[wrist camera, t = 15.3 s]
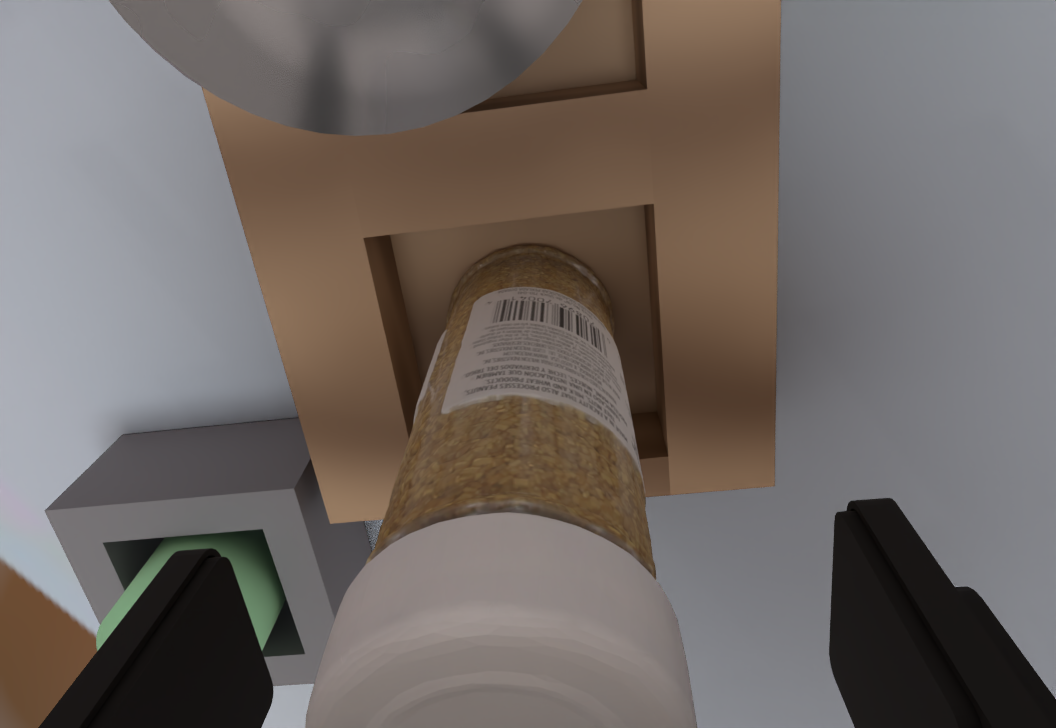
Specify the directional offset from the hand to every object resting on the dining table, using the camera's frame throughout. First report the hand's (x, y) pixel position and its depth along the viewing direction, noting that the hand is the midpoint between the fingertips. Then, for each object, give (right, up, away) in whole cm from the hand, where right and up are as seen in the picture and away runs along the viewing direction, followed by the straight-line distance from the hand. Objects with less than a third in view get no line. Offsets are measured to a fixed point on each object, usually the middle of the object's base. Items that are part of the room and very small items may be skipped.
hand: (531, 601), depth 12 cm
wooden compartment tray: (-1, +10, +8) cm, 12 cm away
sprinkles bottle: (0, +5, +9) cm, 10 cm away
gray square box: (-9, -1, +14) cm, 16 cm away
